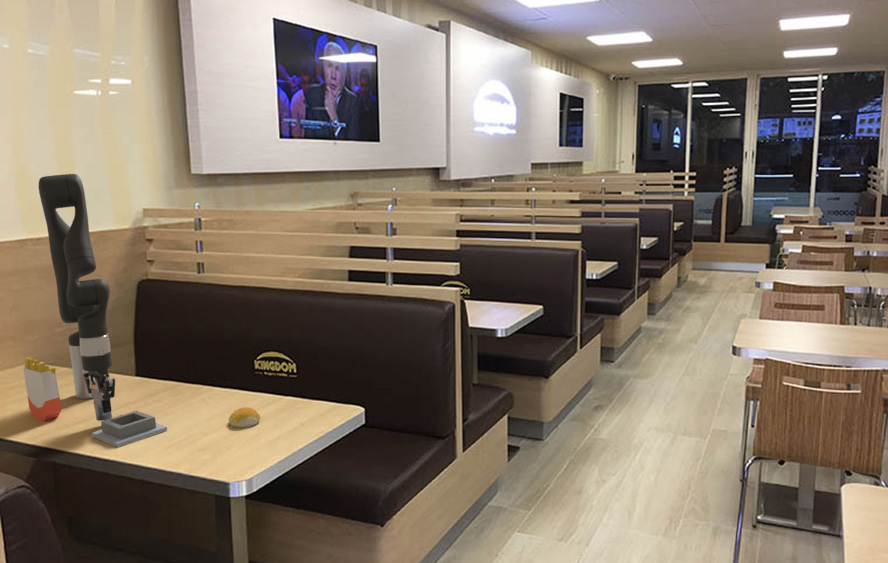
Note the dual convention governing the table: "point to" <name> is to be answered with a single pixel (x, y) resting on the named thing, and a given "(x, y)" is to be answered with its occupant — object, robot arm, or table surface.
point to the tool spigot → (99, 406)
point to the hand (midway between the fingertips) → (103, 410)
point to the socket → (128, 428)
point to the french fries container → (42, 390)
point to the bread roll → (244, 417)
